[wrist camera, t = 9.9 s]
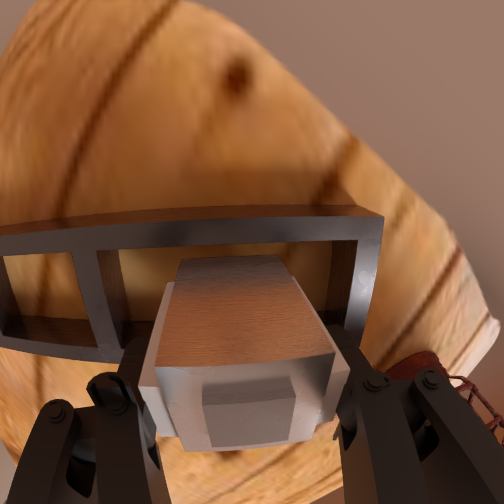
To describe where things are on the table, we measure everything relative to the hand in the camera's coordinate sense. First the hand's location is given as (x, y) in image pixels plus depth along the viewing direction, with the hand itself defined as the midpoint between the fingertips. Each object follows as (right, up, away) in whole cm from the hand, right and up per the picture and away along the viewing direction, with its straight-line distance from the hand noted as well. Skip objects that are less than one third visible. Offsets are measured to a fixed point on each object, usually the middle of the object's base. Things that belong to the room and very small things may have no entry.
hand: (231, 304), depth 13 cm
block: (0, 0, 0) cm, 0 cm away
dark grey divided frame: (-6, +1, +2) cm, 6 cm away
